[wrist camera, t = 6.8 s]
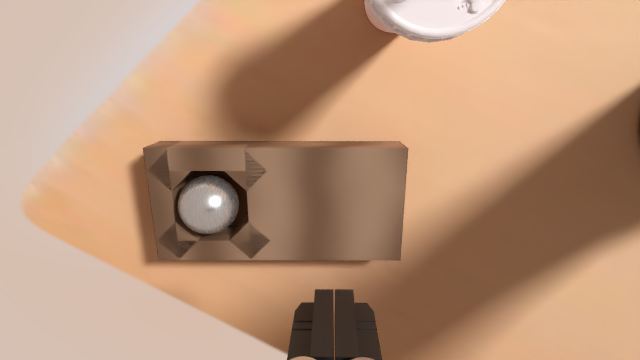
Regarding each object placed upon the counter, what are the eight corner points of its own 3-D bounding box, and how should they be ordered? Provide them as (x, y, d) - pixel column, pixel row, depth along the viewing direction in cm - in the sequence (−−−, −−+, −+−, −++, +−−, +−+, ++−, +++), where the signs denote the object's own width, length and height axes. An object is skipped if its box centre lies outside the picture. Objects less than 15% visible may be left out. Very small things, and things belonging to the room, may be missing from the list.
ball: (221, 186, 22) (161, 183, 22) (226, 246, 23) (169, 241, 23) (245, 170, 25) (194, 168, 26) (249, 222, 26) (199, 218, 27)
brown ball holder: (399, 141, 25) (408, 148, 23) (393, 244, 27) (400, 260, 25) (160, 141, 25) (142, 148, 23) (173, 243, 27) (158, 260, 25)
